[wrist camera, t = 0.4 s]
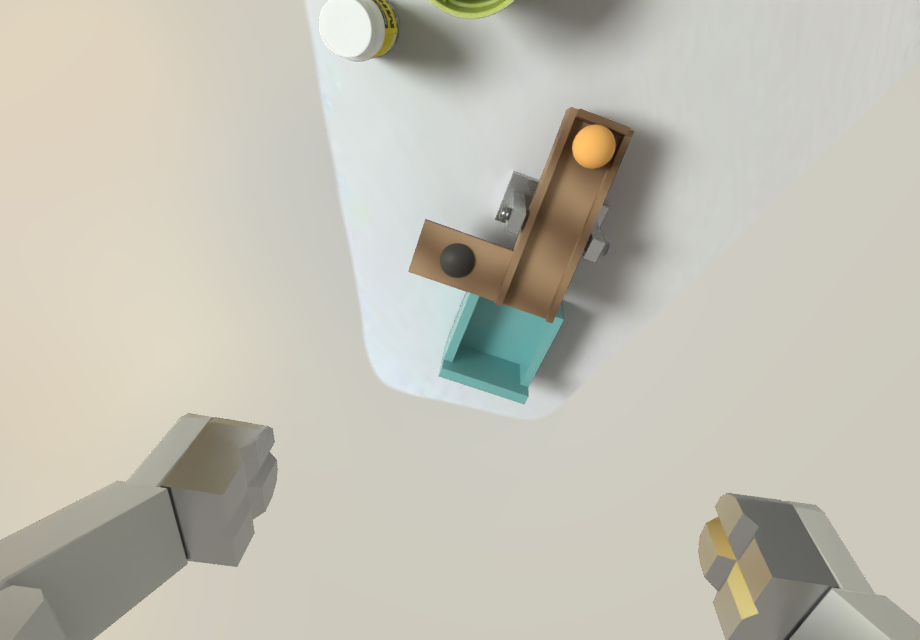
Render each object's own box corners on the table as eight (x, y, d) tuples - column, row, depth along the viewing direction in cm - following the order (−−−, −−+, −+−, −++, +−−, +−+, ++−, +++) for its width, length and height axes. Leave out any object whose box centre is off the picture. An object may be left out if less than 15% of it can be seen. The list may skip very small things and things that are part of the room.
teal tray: (475, 269, 55) (471, 295, 50) (560, 299, 56) (565, 327, 51) (444, 345, 61) (438, 376, 56) (523, 371, 62) (524, 404, 57)
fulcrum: (511, 170, 50) (511, 190, 44) (610, 207, 51) (621, 231, 45) (493, 217, 52) (490, 241, 47) (587, 251, 53) (596, 279, 48)
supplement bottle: (411, 24, 44) (391, 27, 37) (377, 68, 46) (352, 79, 39) (368, -22, 43) (338, -28, 36) (335, 26, 45) (300, 29, 38)
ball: (580, 116, 44) (586, 119, 40) (617, 131, 44) (627, 135, 41) (563, 157, 45) (568, 163, 42) (599, 170, 45) (607, 178, 42)
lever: (473, 73, 44) (474, 67, 41) (626, 132, 45) (637, 130, 43) (409, 269, 49) (406, 275, 46) (549, 317, 50) (553, 326, 47)
